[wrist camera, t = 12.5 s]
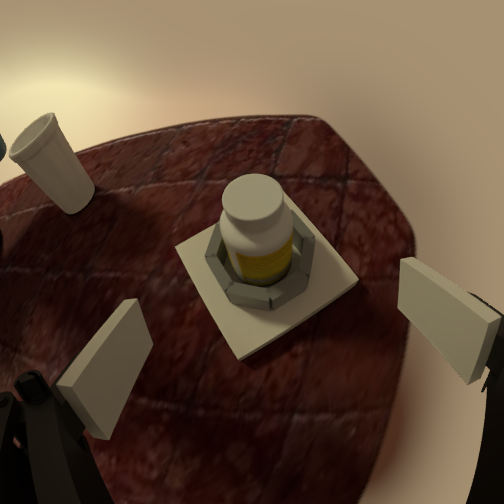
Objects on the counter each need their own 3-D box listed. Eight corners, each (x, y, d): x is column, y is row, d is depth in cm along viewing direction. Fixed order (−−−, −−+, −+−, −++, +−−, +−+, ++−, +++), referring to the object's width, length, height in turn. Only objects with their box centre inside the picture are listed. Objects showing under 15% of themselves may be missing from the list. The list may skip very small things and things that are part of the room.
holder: (179, 253, 29) (164, 231, 25) (280, 197, 31) (280, 169, 28) (240, 361, 23) (231, 354, 19) (355, 285, 26) (367, 265, 22)
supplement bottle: (303, 262, 26) (312, 195, 17) (260, 302, 24) (248, 248, 16) (263, 228, 28) (254, 155, 19) (222, 263, 27) (194, 198, 18)
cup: (105, 173, 38) (63, 103, 25) (95, 213, 34) (39, 141, 21) (67, 186, 38) (23, 126, 25) (55, 226, 34) (-1, 165, 21)
